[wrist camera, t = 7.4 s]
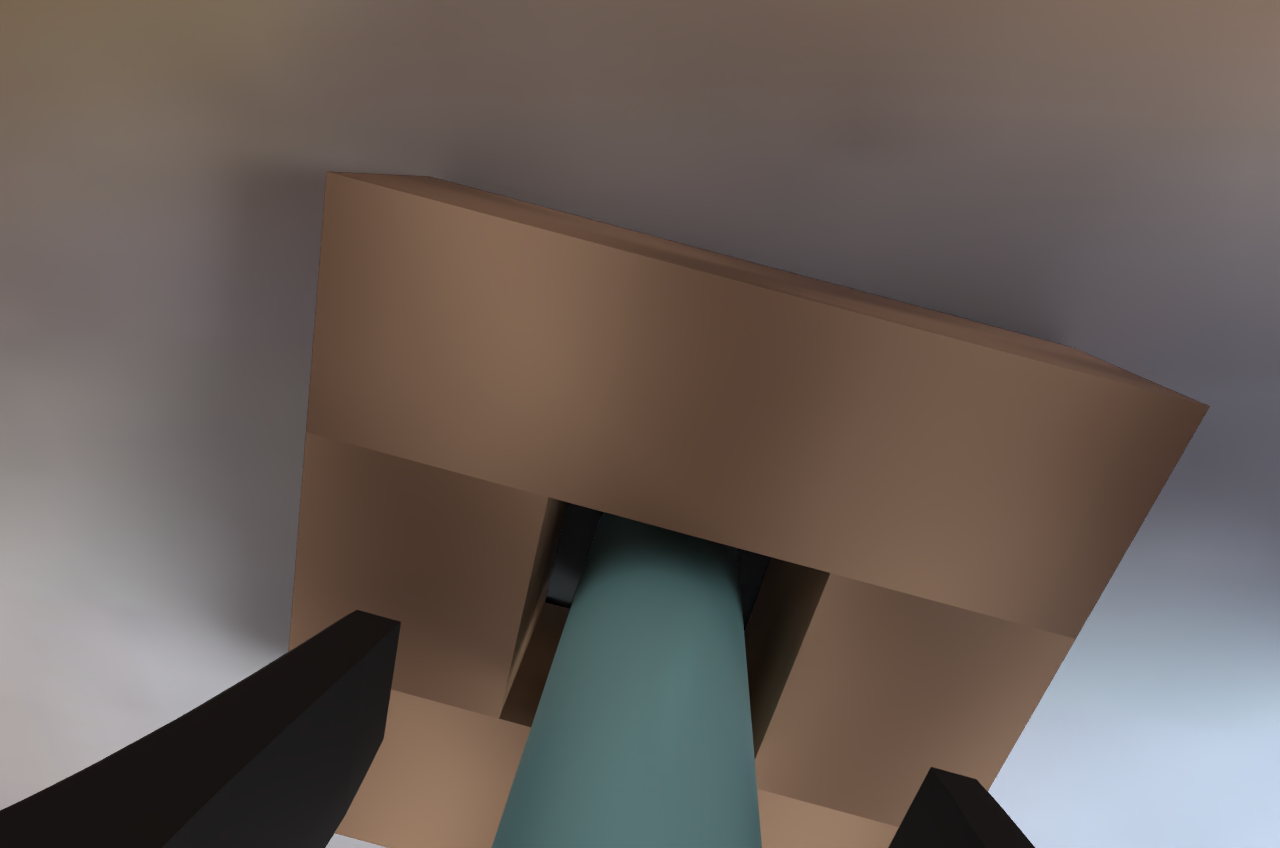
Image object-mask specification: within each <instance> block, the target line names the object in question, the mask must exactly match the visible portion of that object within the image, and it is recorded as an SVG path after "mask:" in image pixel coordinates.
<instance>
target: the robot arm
mask: <svg viewBox="0 0 1280 848" xmlns="http://www.w3.org/2000/svg"><path fill="white" fill-rule="evenodd" d="M400 626H401V622H400V621H397V620H393V619H389V618H386V617H382V616H378V615H375V614H371V613H368V612H364V611H360V610H355V611H353V612H352V613H350V614H348V615H346V616H345V617H343V618H341V619H340V620H338V621H337V622H335V623H333V624H332V625H330V626H329V627H327V628H325V629H324V630H322V631H321V632H319V633H318V634H316V635H314V636H313V637H311V638H310V639H308V640H306V641H305V642H303V643H302V644H300V645H299V646H297V647H295V648H294V649H292V650H291V651H289V652H287V653H286V654H284V655H283V656H281V657H279V658H278V659H276V660H275V661H273V662H271V663H270V664H268V665H267V666H265V667H263V668H262V669H260V670H259V671H257V672H255V673H254V674H252V675H250V676H249V677H247V678H245V679H244V680H242V681H240V682H239V683H237V684H235V685H234V686H232V687H230V688H228V689H227V690H225V691H223V692H222V693H220V694H218V695H217V696H215V697H213V698H212V699H210V700H208V701H207V702H205V703H203V704H202V705H200V706H198V707H197V708H195V709H193V710H191V711H190V712H188V713H186V714H184V715H183V716H181V717H179V718H177V719H176V720H174V721H172V722H170V723H168V724H167V725H165V726H163V727H161V728H159V729H157V730H156V731H154V732H152V733H150V734H148V735H146V736H145V737H143V738H141V739H139V740H137V741H135V742H134V743H132V744H130V745H128V746H126V747H124V748H123V749H121V750H119V751H117V752H115V753H113V754H112V755H110V756H108V757H106V758H104V759H103V760H101V761H99V762H97V763H95V764H93V765H91V766H89V767H87V768H85V769H84V770H82V771H80V772H78V773H76V774H74V775H72V776H70V777H68V778H66V779H64V780H62V781H60V782H58V783H56V784H54V785H52V786H50V787H48V788H46V789H44V790H42V791H40V792H38V793H36V794H34V795H32V796H30V797H28V798H26V799H24V800H22V801H20V802H18V803H15V804H13V805H11V806H9V807H7V808H5V809H3V810H1V811H0V848H325V847H326V845H327V844H328V842H329V841H330V839H331V838H332V836H333V834H334V833H335V831H336V830H337V828H338V826H339V825H340V823H341V822H342V820H343V818H344V817H345V815H346V813H347V811H348V809H349V807H350V805H351V803H352V801H353V799H354V797H355V795H356V794H357V792H358V790H359V788H360V786H361V784H362V782H363V780H364V778H365V776H366V774H367V772H368V770H369V768H370V766H371V764H372V762H373V760H374V758H375V755H376V753H377V751H378V749H379V747H380V745H381V743H382V741H383V739H384V734H385V727H386V721H387V714H388V707H389V700H390V694H391V687H392V680H393V673H394V667H395V660H396V653H397V646H398V640H399V633H400ZM888 848H1035V847H1034V846H1033V845H1032V843H1031V842H1030V841H1029V840H1028V839H1027V837H1026V836H1025V835H1024V834H1023V833H1022V831H1021V830H1020V829H1019V828H1018V827H1017V825H1016V824H1015V823H1014V822H1013V820H1012V819H1011V818H1010V817H1009V816H1008V815H1007V813H1006V812H1005V811H1004V810H1003V809H1002V807H1001V806H1000V805H999V804H998V803H997V802H996V800H995V799H994V798H993V797H992V796H991V795H990V794H989V793H988V791H987V790H986V789H985V788H984V787H983V786H982V785H981V784H980V783H979V781H978V780H977V779H974V778H970V777H967V776H963V775H959V774H956V773H952V772H948V771H945V770H941V769H938V768H934V767H931V768H930V769H929V771H928V773H927V775H926V777H925V779H924V781H923V783H922V785H921V786H920V788H919V790H918V792H917V794H916V796H915V798H914V800H913V802H912V804H911V805H910V807H909V809H908V811H907V813H906V815H905V817H904V819H903V821H902V822H901V824H900V826H899V828H898V830H897V832H896V834H895V836H894V838H893V839H892V841H891V843H890V845H889V847H888Z"/></svg>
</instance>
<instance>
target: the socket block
mask: <svg viewBox="0 0 1280 848" xmlns="http://www.w3.org/2000/svg"><path fill="white" fill-rule="evenodd" d="M1209 407H1210V406H1207V405H1205V404H1203V403H1200V402H1198V401H1196V400H1193V399H1191V398H1189V397H1186V396H1184V395H1182V394H1179V393H1177V392H1175V391H1172V390H1170V389H1168V388H1165V387H1163V386H1161V385H1159V384H1156V383H1154V382H1152V381H1149V380H1147V379H1145V378H1142V377H1140V376H1138V375H1135V374H1133V373H1131V372H1128V371H1126V370H1124V369H1121V368H1119V367H1117V366H1114V365H1112V364H1110V363H1107V362H1105V361H1103V360H1100V359H1098V358H1096V357H1093V356H1091V355H1089V354H1087V353H1084V352H1082V351H1080V350H1077V349H1075V348H1072V347H1069V346H1065V345H1061V344H1057V343H1054V342H1050V341H1046V340H1042V339H1039V338H1035V337H1031V336H1027V335H1023V334H1020V333H1016V332H1012V331H1008V330H1005V329H1001V328H997V327H993V326H990V325H986V324H982V323H978V322H975V321H971V320H967V319H963V318H960V317H956V316H952V315H948V314H944V313H941V312H937V311H933V310H929V309H926V308H922V307H918V306H914V305H911V304H907V303H903V302H899V301H896V300H892V299H888V298H884V297H880V296H877V295H873V294H869V293H865V292H862V291H858V290H854V289H850V288H847V287H843V286H839V285H835V284H832V283H828V282H824V281H820V280H817V279H813V278H809V277H805V276H801V275H798V274H794V273H790V272H786V271H783V270H779V269H775V268H771V267H768V266H764V265H760V264H756V263H753V262H749V261H745V260H741V259H738V258H734V257H730V256H726V255H722V254H719V253H715V252H711V251H707V250H704V249H700V248H696V247H692V246H689V245H685V244H681V243H677V242H674V241H670V240H666V239H662V238H659V237H655V236H651V235H647V234H643V233H640V232H636V231H632V230H628V229H625V228H621V227H617V226H613V225H610V224H606V223H602V222H598V221H595V220H591V219H587V218H583V217H580V216H576V215H572V214H568V213H564V212H561V211H557V210H553V209H549V208H546V207H542V206H538V205H534V204H531V203H527V202H523V201H519V200H516V199H512V198H508V197H504V196H500V195H497V194H493V193H489V192H485V191H482V190H478V189H474V188H470V187H467V186H463V185H459V184H455V183H452V182H448V181H444V180H440V179H437V178H433V177H426V176H406V175H385V174H365V173H344V172H327V174H326V187H325V200H324V212H323V225H322V237H321V250H320V262H319V275H318V288H317V300H316V313H315V325H314V338H313V350H312V363H311V376H310V388H309V401H308V413H307V426H306V438H305V451H304V463H303V476H302V489H301V501H300V514H299V526H298V539H297V551H296V564H295V577H294V589H293V602H292V614H291V627H290V639H289V651H291V650H292V649H294V648H295V647H297V646H299V645H300V644H302V643H303V642H305V641H306V640H308V639H310V638H311V637H313V636H314V635H316V634H318V633H319V632H321V631H322V630H324V629H325V628H327V627H329V626H330V625H332V624H333V623H335V622H337V621H338V620H340V619H341V618H343V617H345V616H346V615H348V614H350V613H352V612H353V611H355V610H360V611H364V612H368V613H371V614H375V615H378V616H382V617H386V618H389V619H393V620H397V621H400V622H401V626H400V633H399V640H398V646H397V653H396V660H395V667H394V673H393V680H392V687H391V694H390V700H389V707H388V714H387V721H386V727H385V734H384V739H383V741H382V743H381V745H380V747H379V749H378V751H377V753H376V755H375V758H374V760H373V762H372V764H371V766H370V768H369V770H368V772H367V774H366V776H365V778H364V780H363V782H362V784H361V786H360V788H359V790H358V792H357V794H356V795H355V797H354V799H353V801H352V803H351V805H350V807H349V809H348V811H347V813H346V815H345V817H344V818H343V820H342V822H341V823H340V825H339V826H338V828H337V830H336V831H335V833H336V834H340V835H344V836H347V837H351V838H355V839H358V840H362V841H366V842H369V843H373V844H377V845H380V846H384V847H388V848H492V845H493V842H494V838H495V835H496V832H497V829H498V826H499V823H500V820H501V817H502V814H503V811H504V808H505V805H506V802H507V799H508V796H509V793H510V790H511V787H512V784H513V781H514V778H515V775H516V772H517V769H518V766H519V763H520V760H521V757H522V753H523V750H524V747H525V744H526V741H527V738H528V735H529V732H530V729H531V726H532V723H533V720H534V717H535V714H536V711H537V708H538V705H539V702H540V699H541V696H542V693H543V690H544V687H545V684H546V681H547V678H548V675H549V672H550V668H551V665H552V662H553V659H554V656H555V653H556V650H557V647H558V644H559V641H560V638H561V635H562V632H563V629H564V626H565V623H566V620H567V617H568V614H569V611H570V609H568V608H564V607H561V606H557V605H553V604H550V603H546V602H545V599H546V595H547V591H548V587H549V583H550V578H551V574H552V570H553V566H554V561H555V557H556V553H557V549H558V544H559V540H560V536H561V532H562V527H563V523H564V519H565V515H566V510H567V506H568V503H572V504H576V505H579V506H583V507H587V508H591V509H594V510H598V511H602V512H605V513H609V514H613V515H617V516H620V517H624V518H628V519H632V520H635V521H639V522H643V523H646V524H650V525H654V526H658V527H661V528H665V529H669V530H672V531H676V532H680V533H684V534H687V535H691V536H695V537H698V538H702V539H706V540H710V541H713V542H717V543H721V544H724V545H728V546H732V547H736V548H739V549H743V550H747V551H751V552H754V553H758V554H762V555H765V556H769V557H772V558H771V561H770V563H769V566H768V569H767V572H766V574H765V577H764V580H763V583H762V585H761V588H760V591H759V593H758V596H757V599H756V602H755V604H754V607H753V610H752V613H751V615H750V618H749V621H748V624H747V626H746V629H745V632H744V637H745V649H746V661H747V673H748V685H749V697H750V709H751V721H752V733H753V745H754V757H755V769H756V781H757V793H758V805H759V817H760V829H761V841H762V848H888V847H889V845H890V843H891V841H892V839H893V838H894V836H895V834H896V832H897V830H898V828H899V826H900V824H901V822H902V821H903V819H904V817H905V815H906V813H907V811H908V809H909V807H910V805H911V804H912V802H913V800H914V798H915V796H916V794H917V792H918V790H919V788H920V786H921V785H922V783H923V781H924V779H925V777H926V775H927V773H928V771H929V769H930V768H931V767H934V768H938V769H941V770H945V771H948V772H952V773H956V774H959V775H963V776H967V777H970V778H974V779H977V780H978V781H979V783H980V784H981V785H982V786H983V787H984V788H985V789H986V790H987V791H988V790H989V788H990V787H991V785H992V783H993V781H994V780H995V778H996V776H997V774H998V773H999V771H1000V769H1001V767H1002V766H1003V764H1004V762H1005V761H1006V759H1007V757H1008V755H1009V754H1010V752H1011V750H1012V748H1013V747H1014V745H1015V743H1016V741H1017V740H1018V738H1019V736H1020V735H1021V733H1022V731H1023V729H1024V728H1025V726H1026V724H1027V722H1028V721H1029V719H1030V717H1031V715H1032V714H1033V712H1034V710H1035V709H1036V707H1037V705H1038V703H1039V702H1040V700H1041V698H1042V696H1043V695H1044V693H1045V691H1046V689H1047V688H1048V686H1049V684H1050V682H1051V681H1052V679H1053V677H1054V676H1055V674H1056V672H1057V670H1058V669H1059V667H1060V665H1061V663H1062V662H1063V660H1064V658H1065V656H1066V655H1067V653H1068V651H1069V650H1070V648H1071V646H1072V644H1073V643H1074V641H1075V639H1076V637H1077V636H1078V634H1079V632H1080V630H1081V629H1082V627H1083V625H1084V624H1085V622H1086V620H1087V618H1088V617H1089V615H1090V613H1091V611H1092V610H1093V608H1094V606H1095V604H1096V603H1097V601H1098V599H1099V598H1100V596H1101V594H1102V592H1103V591H1104V589H1105V587H1106V585H1107V584H1108V582H1109V580H1110V578H1111V577H1112V575H1113V573H1114V571H1115V570H1116V568H1117V566H1118V565H1119V563H1120V561H1121V559H1122V558H1123V556H1124V554H1125V552H1126V551H1127V549H1128V547H1129V545H1130V544H1131V542H1132V540H1133V539H1134V537H1135V535H1136V533H1137V532H1138V530H1139V528H1140V526H1141V525H1142V523H1143V521H1144V519H1145V518H1146V516H1147V514H1148V513H1149V511H1150V509H1151V507H1152V506H1153V504H1154V502H1155V500H1156V499H1157V497H1158V495H1159V493H1160V492H1161V490H1162V488H1163V487H1164V485H1165V483H1166V481H1167V480H1168V478H1169V476H1170V474H1171V473H1172V471H1173V469H1174V467H1175V466H1176V464H1177V462H1178V461H1179V459H1180V457H1181V455H1182V454H1183V452H1184V450H1185V448H1186V447H1187V445H1188V443H1189V441H1190V440H1191V438H1192V436H1193V434H1194V433H1195V431H1196V429H1197V428H1198V426H1199V424H1200V422H1201V421H1202V419H1203V417H1204V415H1205V414H1206V412H1207V410H1208V408H1209Z"/></svg>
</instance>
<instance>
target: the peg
mask: <svg viewBox="0 0 1280 848" xmlns="http://www.w3.org/2000/svg"><path fill="white" fill-rule="evenodd" d="M492 848H762V841H761V829H760V817H759V805H758V793H757V781H756V769H755V757H754V745H753V733H752V721H751V709H750V697H749V685H748V673H747V661H746V649H745V637H744V625H743V613H742V601H741V589H740V577H739V565H738V553H737V548H736V547H732V546H728V545H724V544H721V543H717V542H713V541H710V540H706V539H702V538H698V537H695V536H691V535H687V534H684V533H680V532H676V531H672V530H669V529H665V528H661V527H658V526H654V525H650V524H646V523H643V522H639V521H635V520H632V519H628V518H624V517H620V516H617V515H613V514H609V513H605V512H604V513H603V515H602V516H601V518H600V521H599V523H598V526H597V529H596V532H595V535H594V538H593V541H592V544H591V547H590V550H589V553H588V556H587V559H586V562H585V565H584V568H583V571H582V574H581V577H580V580H579V583H578V587H577V590H576V593H575V596H574V599H573V602H572V605H571V608H570V611H569V614H568V617H567V620H566V623H565V626H564V629H563V632H562V635H561V638H560V641H559V644H558V647H557V650H556V653H555V656H554V659H553V662H552V665H551V668H550V672H549V675H548V678H547V681H546V684H545V687H544V690H543V693H542V696H541V699H540V702H539V705H538V708H537V711H536V714H535V717H534V720H533V723H532V726H531V729H530V732H529V735H528V738H527V741H526V744H525V747H524V750H523V753H522V757H521V760H520V763H519V766H518V769H517V772H516V775H515V778H514V781H513V784H512V787H511V790H510V793H509V796H508V799H507V802H506V805H505V808H504V811H503V814H502V817H501V820H500V823H499V826H498V829H497V832H496V835H495V838H494V842H493V845H492Z"/></svg>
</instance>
